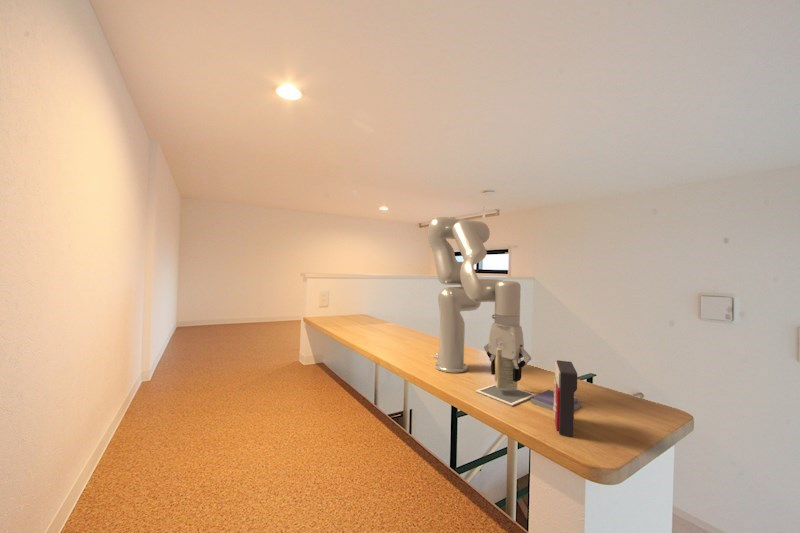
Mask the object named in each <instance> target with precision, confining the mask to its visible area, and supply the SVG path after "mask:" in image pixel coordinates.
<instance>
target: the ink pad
mask: <svg viewBox="0 0 800 533" xmlns="http://www.w3.org/2000/svg"><path fill="white" fill-rule="evenodd" d="M529 400H530V404H534V405H537V406H539V407H542V408H545V409H548V410H550V411H552V412H554V410H553V407H554V390H551V389H548V390H545V391H543V392H540V393H537V394H536V395H535V396H534V397H533V398H531V399H529ZM581 407H582V402H581V401H579V398H577V397H574V411H576V410H577V409H579V408H581Z"/></svg>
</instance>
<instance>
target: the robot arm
mask: <svg viewBox="0 0 800 533" xmlns="http://www.w3.org/2000/svg"><path fill="white" fill-rule="evenodd" d="M488 226H489V225H487V224H486V223H485V222H483V221H480V220H479V221H478V220H470V219H464V218H457V217H456V218H455V217H445V216H441V217H435V218H433V219H432V220H431V221H430V223H429V225H428V228H427V240H428V243H429V245H430V248H431V251H432V253H433V259H434V265H435V268H436V275H437V279H438V281H439V283H440V284H442V285H445V286H446V285H447V286H449V287H444V288H442V289H441V290H440V291H439V292H438V295H437V303H438V308H439V352H436V353H435V354H434V355H433V359H435V360H436V359H437V362H436V363H435V364H434V366H435V369H436V370H438V371H441V372H444V373H450V374H451V373H452V374H457V373H458V374H459V373H463V372H466V371H468V370H469V366H468V365H467V364H466V363H465V334H466V333H465V331H466V330H465V329H466V328H465V320H464V318H463V315H462V313H461V312H472V311H476V310H477V309H479V308H480V307H481V303H487V302H488V303H493V302H494V314H492V316H491V318H492V319H493V320H494V322H493V323H491V326H490V330H489V339H488V343H487V344H485V345H484V347H483V350H484V351H485V352H486V355H487V357H488V358H489V362H490V372H491V373H490V374H491V375H494V376H495V356H496V349H497V348H498V349H501V350H502V351H501V357H503V358H505V359H509V360H512V361H513V363H514V366H515V368H514V369H513V381H514V382H517V383H518V382H520V381H521V379H522V371H523V370H522V368H524V367H525V366H526V365H527V364H528V363H529V362H530V361H531V360H532V356H531V355H530V354H529V353H528V352H527V350H525V346H524V345H525V344H524V343H525V342H524V332H523V329H522V325H520V324H521V291H522V290H521V289H522V288H521V284H520V283H519V282H518V281H515V280H502V279H497V278H496V279H495V278H494V279H493V278H491V279H490V278H479V277H478V275H477V273H476V270H475V266H474V265H476V264H479V263H480V262H482V261H483V260H484V259H485V258H486V256H487V254H488V253H487V248H486V247H485V243H486V242H487V241H488V240H489V238H490V228H489V227H488ZM448 239H451V240H455V242H456V245H457V247H458V250H459V252H460V254H461V257H462V258H463V261H458V260H457V258H456V255H455V254H456V253H455V250H454V248H453V245H451V243H450V242H449V241H448ZM450 285H451V286H450ZM521 358H522V359H521Z"/></svg>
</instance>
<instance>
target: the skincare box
mask: <svg viewBox="0 0 800 533" xmlns="http://www.w3.org/2000/svg"><path fill="white" fill-rule="evenodd" d="M501 351H502V350H501V349H498V348H497V349H496V356H495V374H494V384H495V385H496V387H497V388H500V389H517V388H518V381H517V382H514V381H513V369H514V368H515V366H514V363H513V361H512V360H509V359H505V358H503V357H501Z"/></svg>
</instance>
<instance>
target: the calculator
mask: <svg viewBox="0 0 800 533" xmlns="http://www.w3.org/2000/svg"><path fill="white" fill-rule="evenodd" d="M554 363H555V365H554V366H555V367H554V371H555V372H554V375H555V377H553V391H554V407H553V410H554V411H553V418H554V423H555V429H556V431H557V432H558V434H559V435H561V436H566V437H571V438H573V437H574V428H575V426H574V421H575V420H574V419H575V417H574V416H575V415H574V414H575V412H574V411H575V410H574V398H575V393H576V392H577V390H578V372H577V370H576V368H575V366H574V365H573V362H572V361H567V360H566V361H565V360H556V361H555V362H554Z"/></svg>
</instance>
